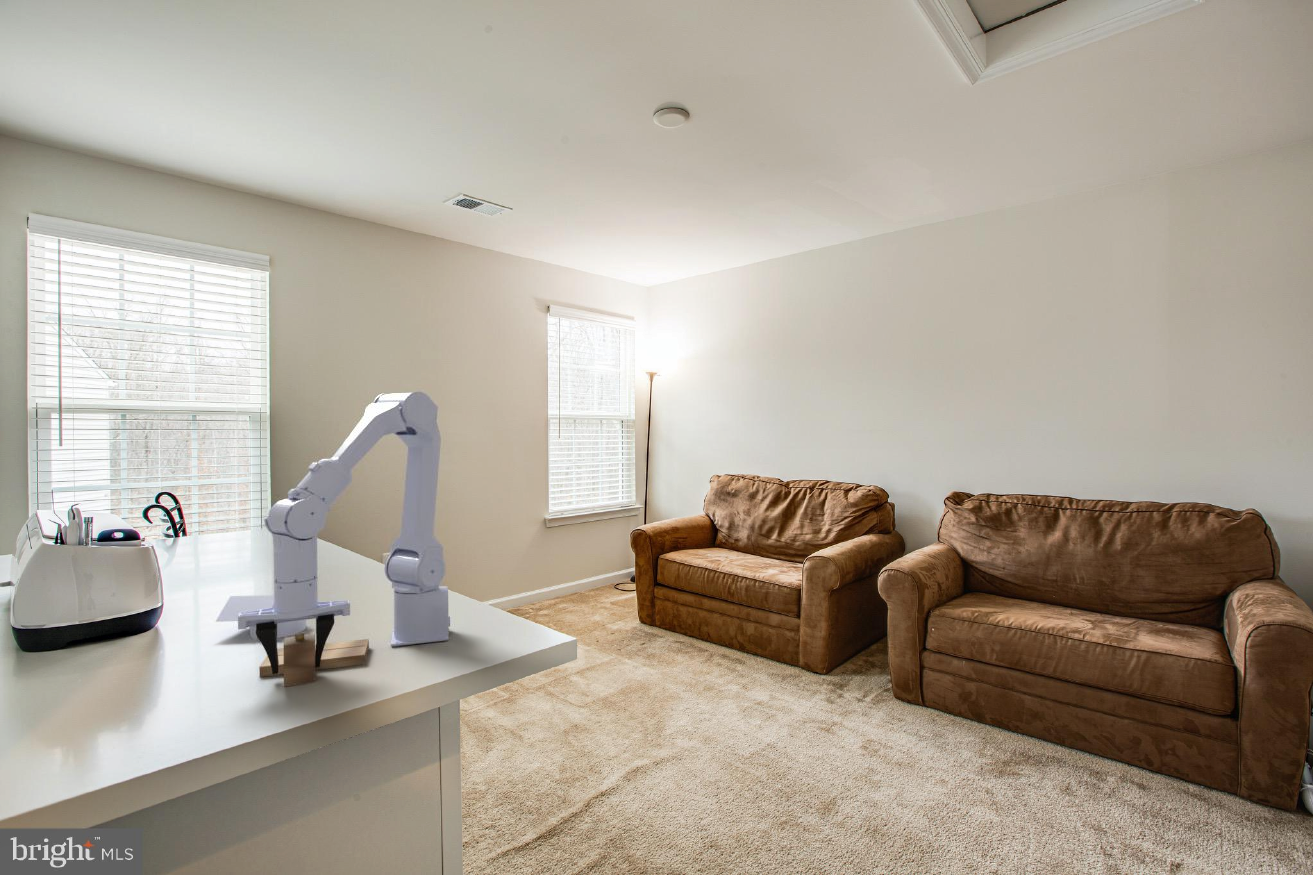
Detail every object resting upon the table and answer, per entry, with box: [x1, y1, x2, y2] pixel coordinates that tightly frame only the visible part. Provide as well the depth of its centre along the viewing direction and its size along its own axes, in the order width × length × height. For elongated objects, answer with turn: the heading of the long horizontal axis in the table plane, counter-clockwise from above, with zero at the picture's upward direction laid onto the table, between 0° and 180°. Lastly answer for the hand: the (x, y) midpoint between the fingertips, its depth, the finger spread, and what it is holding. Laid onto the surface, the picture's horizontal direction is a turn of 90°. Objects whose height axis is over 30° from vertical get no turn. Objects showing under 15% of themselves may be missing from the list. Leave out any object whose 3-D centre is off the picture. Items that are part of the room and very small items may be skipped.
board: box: [259, 638, 370, 678], centre depth 101 cm, size 14×8×2 cm, turn 110°
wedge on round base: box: [215, 594, 307, 640], centre depth 116 cm, size 9×7×13 cm
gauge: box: [283, 632, 316, 688], centre depth 96 cm, size 4×9×7 cm, turn 28°
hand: (296, 668), depth 94 cm, fingers open, 5 cm apart
